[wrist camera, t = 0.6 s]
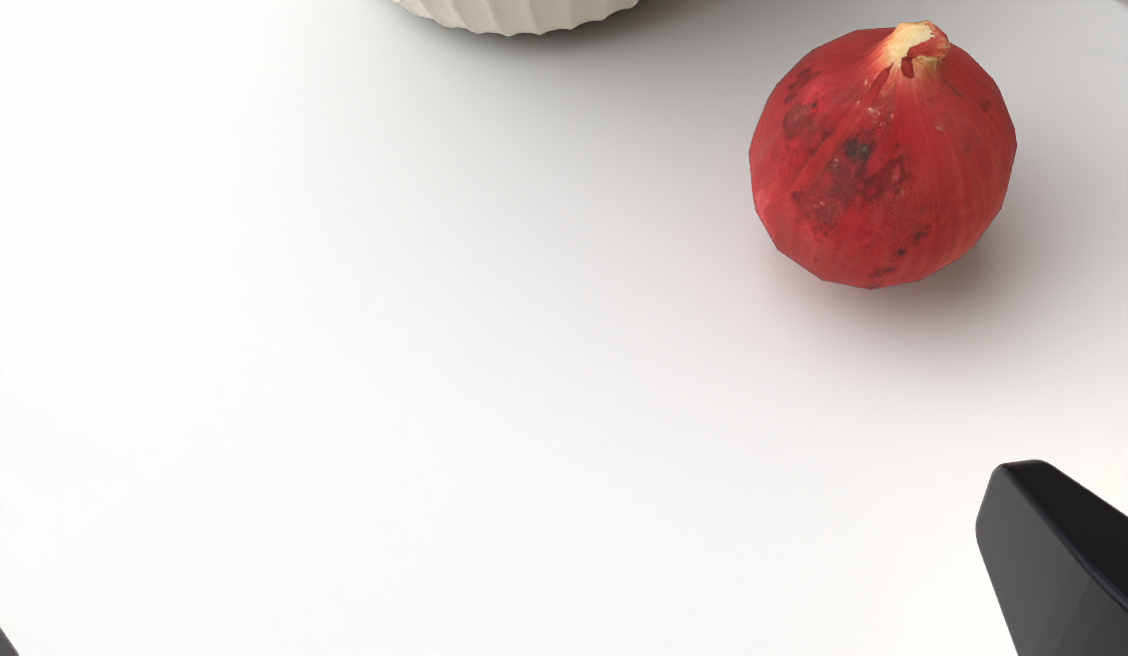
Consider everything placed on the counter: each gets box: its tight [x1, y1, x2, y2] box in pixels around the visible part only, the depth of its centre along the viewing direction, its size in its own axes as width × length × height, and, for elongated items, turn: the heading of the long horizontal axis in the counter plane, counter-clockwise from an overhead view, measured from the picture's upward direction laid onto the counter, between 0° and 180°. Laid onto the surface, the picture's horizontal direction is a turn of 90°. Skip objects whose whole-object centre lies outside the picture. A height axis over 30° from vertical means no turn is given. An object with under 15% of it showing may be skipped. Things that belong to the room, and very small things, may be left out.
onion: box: [749, 20, 1017, 290], centre depth 23 cm, size 6×6×8 cm
